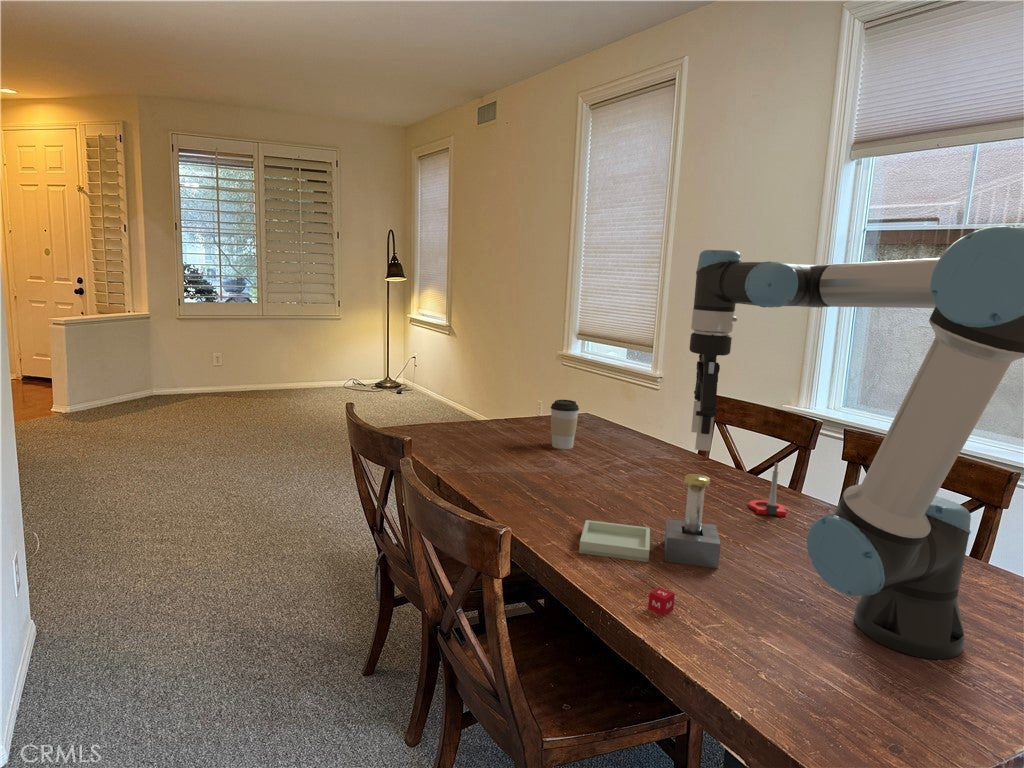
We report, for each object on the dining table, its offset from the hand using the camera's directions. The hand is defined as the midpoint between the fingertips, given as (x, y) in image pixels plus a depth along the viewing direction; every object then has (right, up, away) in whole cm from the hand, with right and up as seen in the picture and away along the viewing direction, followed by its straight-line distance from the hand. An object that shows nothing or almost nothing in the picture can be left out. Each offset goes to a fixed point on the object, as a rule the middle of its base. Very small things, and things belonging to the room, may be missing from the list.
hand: (700, 440), depth 127 cm
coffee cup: (-21, -9, +81) cm, 84 cm away
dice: (-12, -27, -18) cm, 35 cm away
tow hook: (+26, -20, +32) cm, 45 cm away
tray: (-16, -22, +7) cm, 28 cm away
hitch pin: (-1, -23, +4) cm, 24 cm away
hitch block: (-1, -23, +4) cm, 24 cm away
